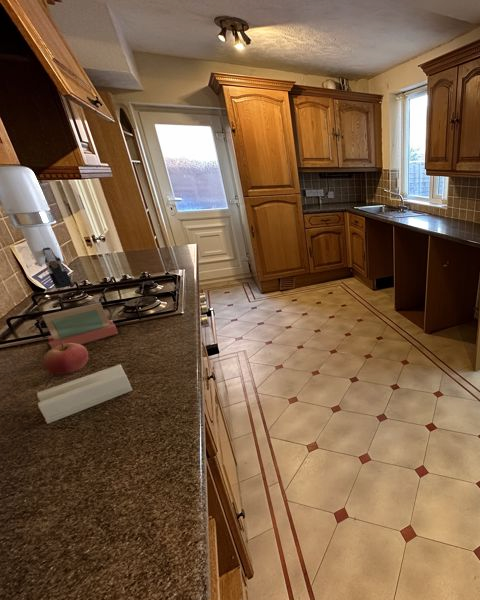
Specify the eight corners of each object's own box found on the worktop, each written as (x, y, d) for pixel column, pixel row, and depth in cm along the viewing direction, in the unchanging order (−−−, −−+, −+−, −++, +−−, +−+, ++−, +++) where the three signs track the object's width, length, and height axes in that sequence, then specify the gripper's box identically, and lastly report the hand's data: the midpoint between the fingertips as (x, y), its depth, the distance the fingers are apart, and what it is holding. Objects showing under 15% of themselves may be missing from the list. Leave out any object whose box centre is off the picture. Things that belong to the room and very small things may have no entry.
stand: (53, 347, 93) (47, 335, 91) (115, 330, 102) (110, 318, 101) (55, 357, 88) (49, 345, 86) (120, 338, 97) (115, 326, 96)
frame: (58, 347, 91) (42, 315, 87) (112, 331, 99) (100, 302, 95) (58, 349, 90) (42, 317, 86) (113, 333, 98) (100, 303, 94)
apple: (100, 359, 87) (89, 333, 84) (82, 376, 80) (69, 349, 77) (64, 364, 85) (51, 337, 82) (42, 382, 78) (27, 354, 75)
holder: (45, 406, 70) (36, 391, 68) (125, 376, 80) (119, 362, 78) (47, 424, 65) (38, 408, 64) (132, 390, 75) (126, 376, 73)
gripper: (10, 218, 84) (41, 279, 91) (10, 225, 73) (45, 294, 80) (51, 214, 89) (77, 273, 96) (56, 220, 78) (85, 286, 85)
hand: (62, 282), depth 88 cm, fingers open, 9 cm apart
